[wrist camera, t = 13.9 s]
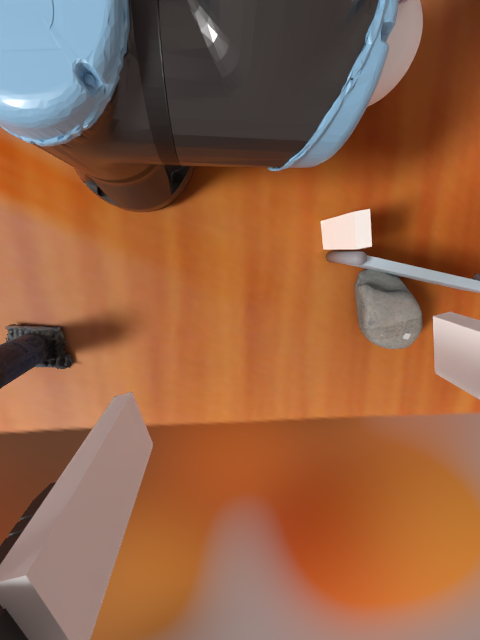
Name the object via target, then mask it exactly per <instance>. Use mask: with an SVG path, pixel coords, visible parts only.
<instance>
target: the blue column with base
mask: <svg viewBox="0 0 480 640" xmlns="http://www.w3.org/2000/svg"><path fill="white" fill-rule="evenodd" d="M5 328H7V329H8V331H9V332H8V334H7V335H8V340H7V338H6V340H7V341H6V343H4V344H1V345H0V388H2V387H3V386H5V385H6V384H8V383H10V382H11V381H13V380H14V379H16V378H17V377H19V376H21V375H22V374H24V373H25V372H27V371H28V370H30V369H32V368H33V367H55V368H57V369H59V368H60V369H62V368H63V369H65V367H66V368H68V367H70V366H71V365H72V364H71V363H72V362H73V360H72V358H70V357H71V356H70V354H69V353H68V354H65V353H66V352H65V351H64V348H65V347H66V346H65V345H66V342H65V337H64V335H63V333H62V331H61V330H60V328H61V327H60V326H58V327H56V328H55V327H54V328H52V327H44V326H32V325H30V326H24V325H22V326H19V325H15V324H12V325H8V326H7V327H5ZM61 350H62V351H61ZM61 353H62V355H61ZM63 353H64V354H63ZM70 368H71V367H70Z"/></svg>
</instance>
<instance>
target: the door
mask: <svg viewBox="0 0 480 640" xmlns="http://www.w3.org/2000/svg"><path fill="white" fill-rule="evenodd" d="M326 259H327V261H328V262H333V263H342V264H347V265H352V266H356V267H361V268H365V269H370V270H375V271H380V272H384V273H388V274H393V275H397V276H401V277H406V278H410V279H415V280H419V281H424V282H428V283H433V284H437V285H442V286H446V287H451V288H455V289H460V290H465V291H471V292H478V293H480V274H476V273H475V274H474V276H473V279H469V278H464V277H460V276H456V275H451V274H447V273H442V272H438V271H434V270H429V269H425V268H421V267H416V266H412V265H407V264H403V263H399V262H394V261H390V260H385V259H381V258H377V257H372V256H368V255H366V253H365V252H362V251H330V252H328V253H327V255H326Z"/></svg>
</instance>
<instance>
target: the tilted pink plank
mask: <svg viewBox="0 0 480 640" xmlns="http://www.w3.org/2000/svg"><path fill="white" fill-rule="evenodd" d="M321 230H322V240H323V249H361V248H367V247H372V237H371V218H370V209H366V210H361V211H356V212H351V213H348V214H344V215H341V216H337V217H334V218H330V219H326V220H323V221H321Z"/></svg>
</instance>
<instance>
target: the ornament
mask: <svg viewBox="0 0 480 640" xmlns="http://www.w3.org/2000/svg"><path fill="white" fill-rule="evenodd" d="M422 29H423V13H422V7H421V3H420V0H399V3H398V11H397V17H396V23H395V26H394V28H393V29H392V31H391V33H390V35H389V37H388V39H387V41H386V43H387V44H388V46H389V51H388V55H387V58H386V61H385V64H384V67H383V70H382V73H381V76H380V78H379V81H378V84H377V86H376V88H375V91H374V93H373V95H372V97H371V100H370V102H369V104H368V106H370V105H372V104H374V103H376V102H377V101H379V100H380V99H382V98H383V97H384V96H386V95H387V94H388V93H389V92H390V91H391V90H392V89H393V88H394V87H395V86H396V85H397V84H398V83H399V81H400V80H401V79H402V77H403V76H404V75H405V73H406V72H407V70H408V69H409V67H410V65H411V63H412V61H413V59H414V57H415V55H416V52H417V50H418V47H419V44H420V40H421V35H422ZM368 106H367V107H368Z"/></svg>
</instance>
